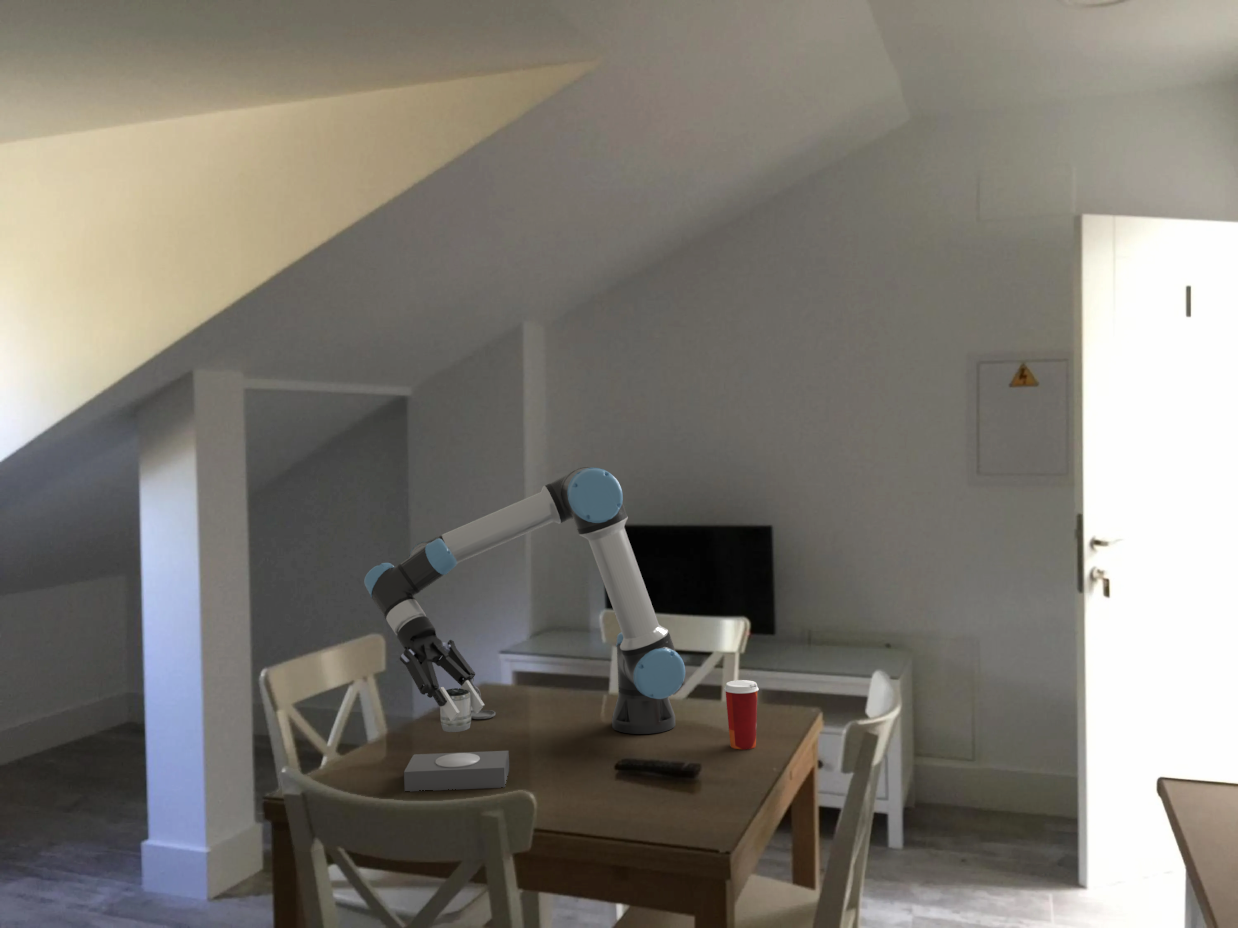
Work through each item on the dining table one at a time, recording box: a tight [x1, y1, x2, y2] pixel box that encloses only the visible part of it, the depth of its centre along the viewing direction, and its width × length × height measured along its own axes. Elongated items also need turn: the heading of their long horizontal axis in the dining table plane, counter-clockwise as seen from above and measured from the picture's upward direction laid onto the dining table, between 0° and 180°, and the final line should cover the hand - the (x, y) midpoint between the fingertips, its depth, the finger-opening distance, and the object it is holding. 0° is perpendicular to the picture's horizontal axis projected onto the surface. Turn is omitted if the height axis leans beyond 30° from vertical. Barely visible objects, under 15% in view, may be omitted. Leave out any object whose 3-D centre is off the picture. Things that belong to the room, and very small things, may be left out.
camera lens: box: [439, 687, 472, 733], centre depth 224 cm, size 6×6×8 cm
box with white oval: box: [403, 750, 510, 792], centre depth 224 cm, size 20×12×4 cm, turn 92°
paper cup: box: [723, 679, 760, 751], centre depth 242 cm, size 8×8×14 cm
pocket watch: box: [471, 677, 497, 720], centre depth 276 cm, size 8×8×10 cm
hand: (467, 712), depth 222 cm, fingers closed on camera lens, 6 cm apart
